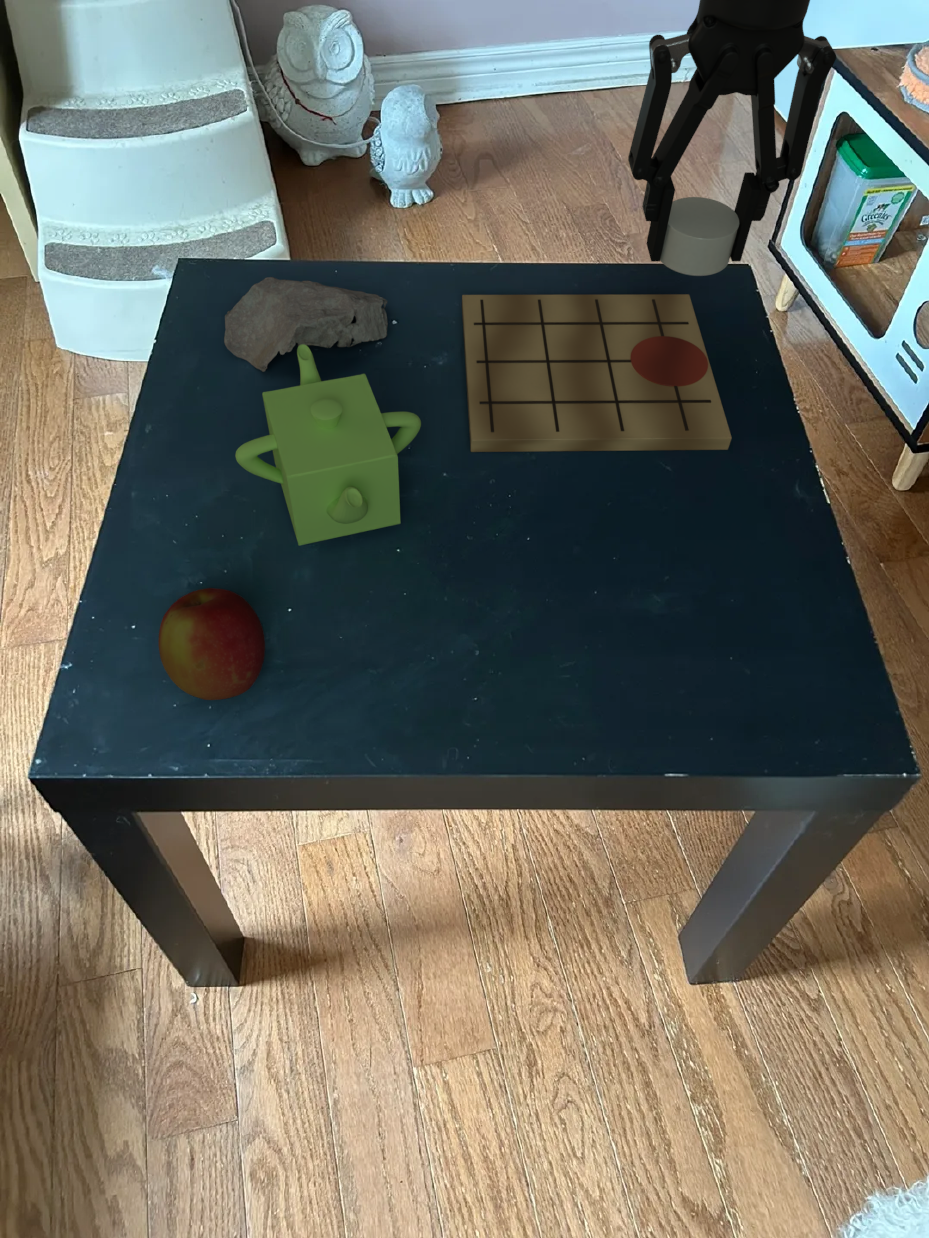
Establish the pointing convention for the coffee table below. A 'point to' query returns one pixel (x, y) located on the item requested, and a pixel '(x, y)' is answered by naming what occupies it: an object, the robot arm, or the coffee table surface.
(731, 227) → the gray cylinder
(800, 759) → the coffee table surface
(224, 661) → the apple
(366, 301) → the stone
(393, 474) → the teapot
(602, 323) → the board
